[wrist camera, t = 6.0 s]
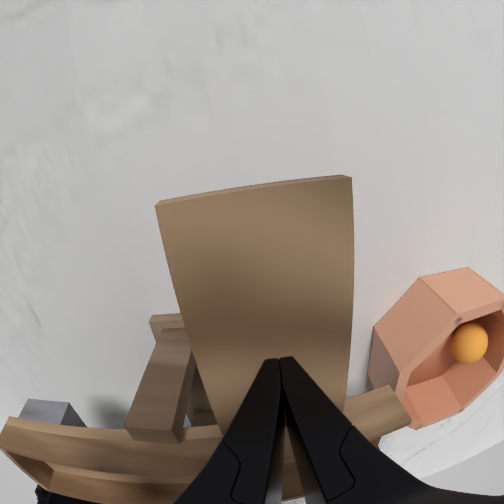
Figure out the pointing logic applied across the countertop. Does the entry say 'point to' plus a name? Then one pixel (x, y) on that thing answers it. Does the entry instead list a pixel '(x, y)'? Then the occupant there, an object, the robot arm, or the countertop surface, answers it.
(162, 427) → the stand
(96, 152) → the countertop surface
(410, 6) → the countertop surface
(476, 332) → the ball
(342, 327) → the lever
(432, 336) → the pink octagonal bowl
